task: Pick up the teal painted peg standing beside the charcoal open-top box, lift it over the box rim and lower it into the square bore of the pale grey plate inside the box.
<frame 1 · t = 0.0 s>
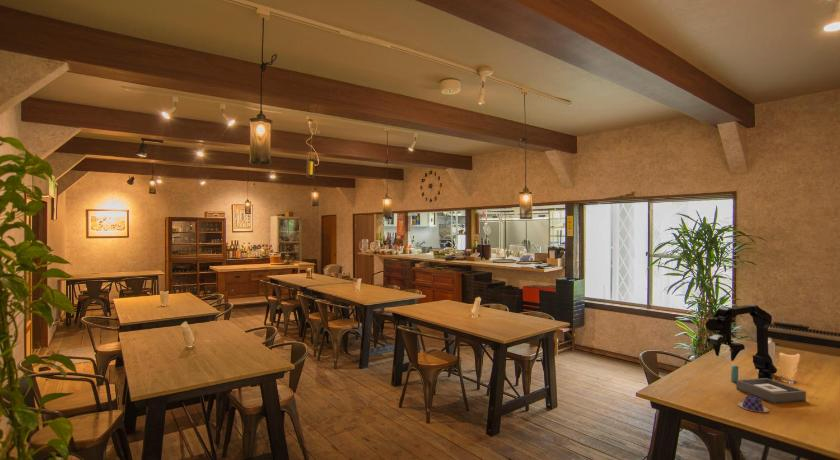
hand: (724, 358, 240), 15 cm above the table, tool pointing down, fingers open, 9 cm apart
checkered hat: (752, 408, 209), on the table
box: (769, 395, 226), on the table
milk: (765, 373, 261), on the table
peg: (734, 381, 245), on the table
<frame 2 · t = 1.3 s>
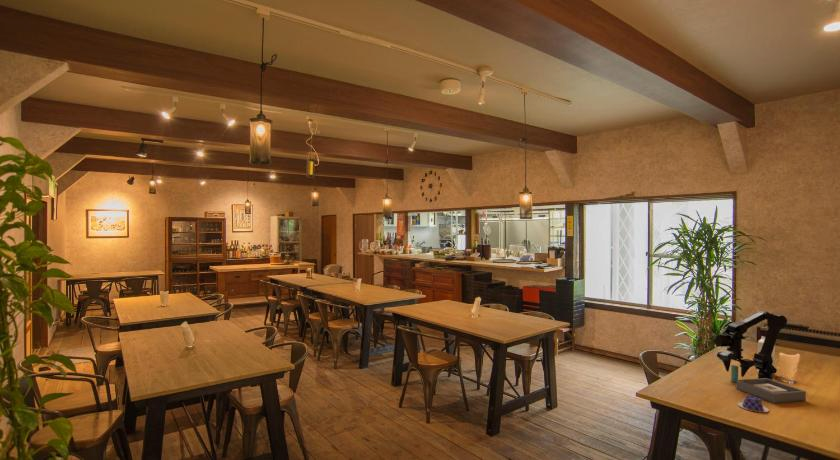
hand: (734, 374, 245), 4 cm above the table, tool pointing down, fingers open, 9 cm apart
nothing on the table moved.
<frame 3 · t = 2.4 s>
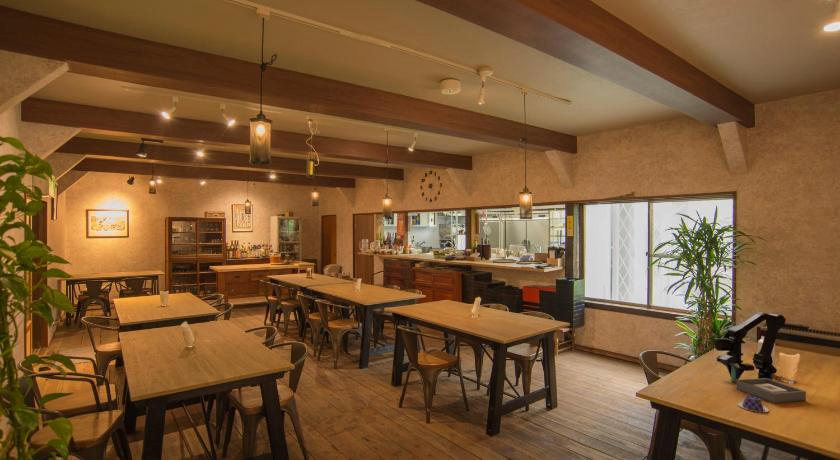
hand: (734, 378, 245), 2 cm above the table, tool pointing down, fingers closed on peg, 3 cm apart
peg: (734, 381, 245), on the table, touching gripper
everything else where it was.
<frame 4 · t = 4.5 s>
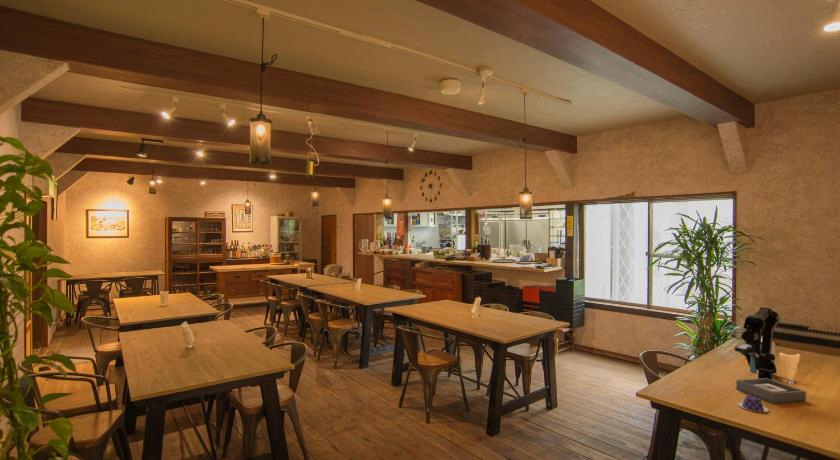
hand: (753, 368, 234), 11 cm above the table, tool pointing down, fingers closed on peg, 3 cm apart
peg: (753, 372, 234), point 9 cm above the table, touching gripper
everything else where it was.
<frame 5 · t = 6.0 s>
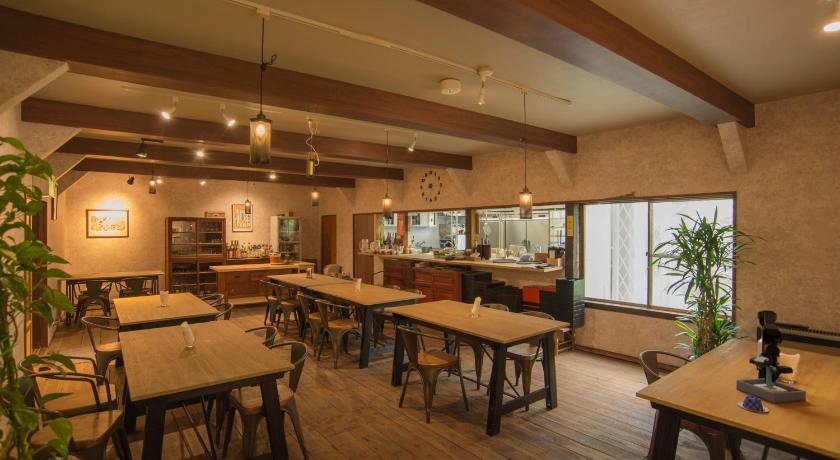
hand: (770, 381, 226), 7 cm above the table, tool pointing down, fingers closed on peg, 3 cm apart
peg: (769, 385, 226), point 5 cm above the table, touching gripper
everything else where it was.
when the fingers open (5 cm above the table, at t = 6.7 s): peg drops 2 cm, resting on box.
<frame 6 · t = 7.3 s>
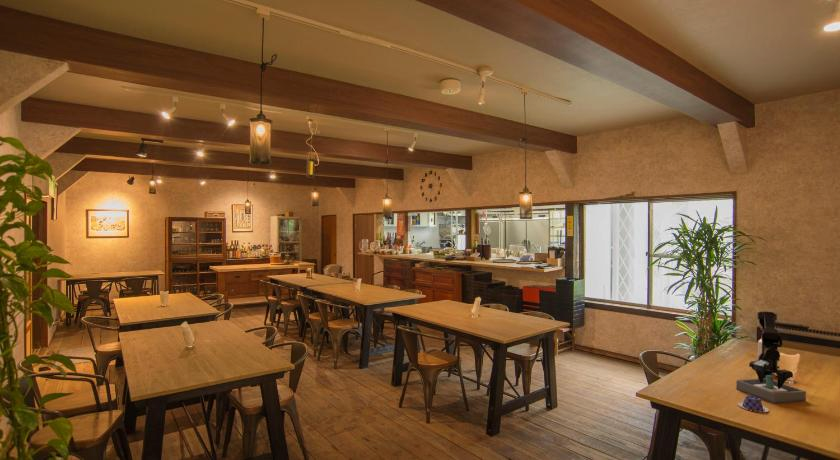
hand: (770, 385, 226), 5 cm above the table, tool pointing down, fingers open, 9 cm apart
peg: (769, 392, 226), point 1 cm above the table, tilted 7°, touching box
everything else where it was.
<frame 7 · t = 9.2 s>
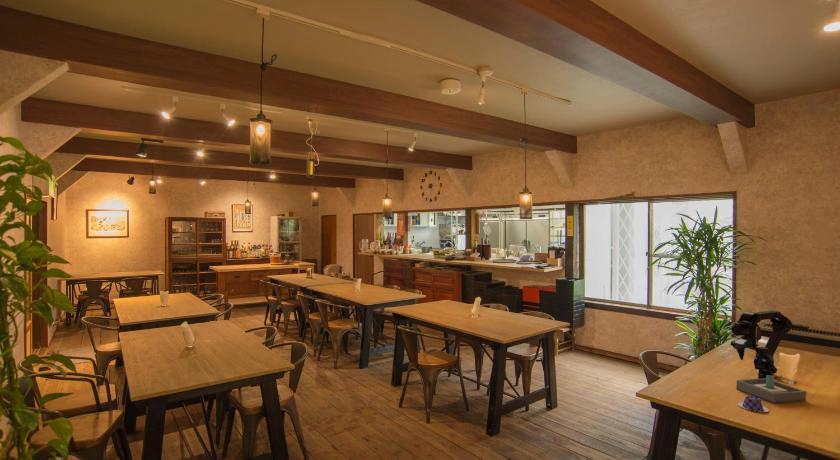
hand: (749, 362, 243), 12 cm above the table, tool pointing down, fingers open, 9 cm apart
peg: (769, 393, 226), point 1 cm above the table, touching box
everything else where it was.
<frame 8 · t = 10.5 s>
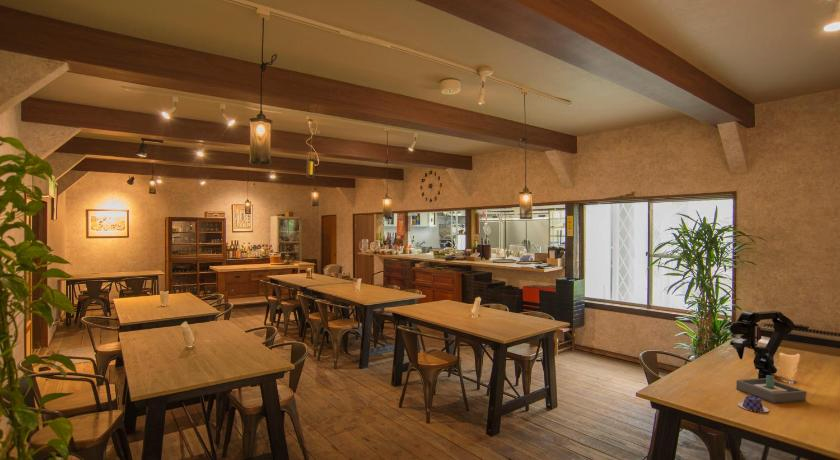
hand: (748, 361, 244), 12 cm above the table, tool pointing down, fingers open, 9 cm apart
nothing on the table moved.
at the end: peg 0.1 cm off-centre on the box, point 1.0 cm above the box's base; peg tilted 0°; the gripper is holding nothing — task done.
